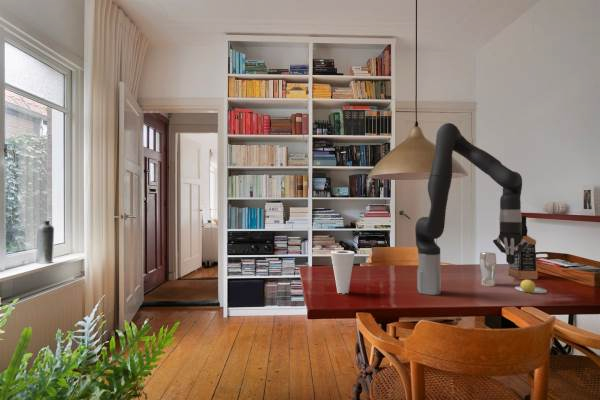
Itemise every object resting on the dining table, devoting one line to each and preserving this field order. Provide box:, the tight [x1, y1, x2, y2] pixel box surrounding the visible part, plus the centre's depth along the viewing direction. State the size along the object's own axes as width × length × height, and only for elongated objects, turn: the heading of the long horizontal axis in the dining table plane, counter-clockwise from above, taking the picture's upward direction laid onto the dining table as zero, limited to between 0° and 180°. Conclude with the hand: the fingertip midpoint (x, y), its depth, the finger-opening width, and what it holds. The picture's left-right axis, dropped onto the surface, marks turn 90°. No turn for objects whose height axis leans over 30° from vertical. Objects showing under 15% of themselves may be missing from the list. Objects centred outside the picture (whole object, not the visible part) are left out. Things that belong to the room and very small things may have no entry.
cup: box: [330, 249, 355, 295], centre depth 153 cm, size 11×11×18 cm
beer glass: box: [479, 251, 497, 287], centre depth 165 cm, size 7×7×15 cm
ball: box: [519, 279, 536, 294], centre depth 151 cm, size 6×6×6 cm
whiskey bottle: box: [508, 215, 539, 280], centre depth 180 cm, size 10×10×32 cm
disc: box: [514, 285, 548, 294], centre depth 155 cm, size 12×12×1 cm
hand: (510, 263), depth 138 cm, fingers closed
